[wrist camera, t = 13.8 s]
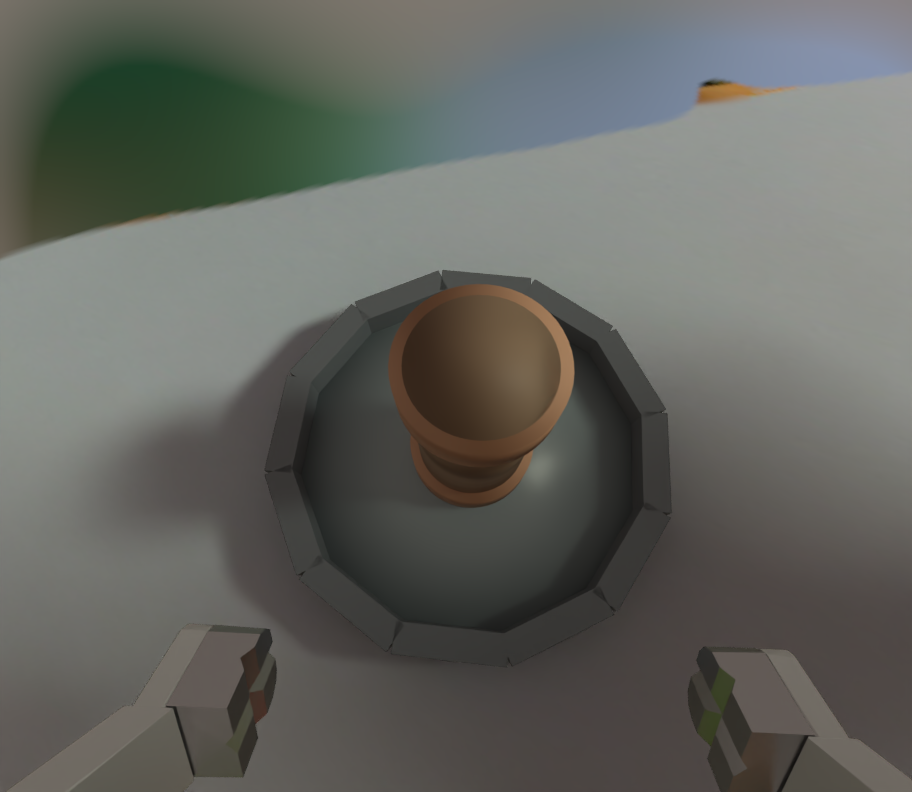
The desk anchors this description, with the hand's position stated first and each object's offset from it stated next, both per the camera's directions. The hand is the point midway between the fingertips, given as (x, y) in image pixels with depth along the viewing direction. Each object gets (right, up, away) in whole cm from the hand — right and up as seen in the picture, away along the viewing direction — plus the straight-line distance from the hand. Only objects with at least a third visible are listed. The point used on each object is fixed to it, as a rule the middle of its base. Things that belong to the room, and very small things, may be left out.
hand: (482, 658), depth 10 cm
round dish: (0, +2, +16) cm, 16 cm away
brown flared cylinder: (0, +2, +15) cm, 15 cm away
